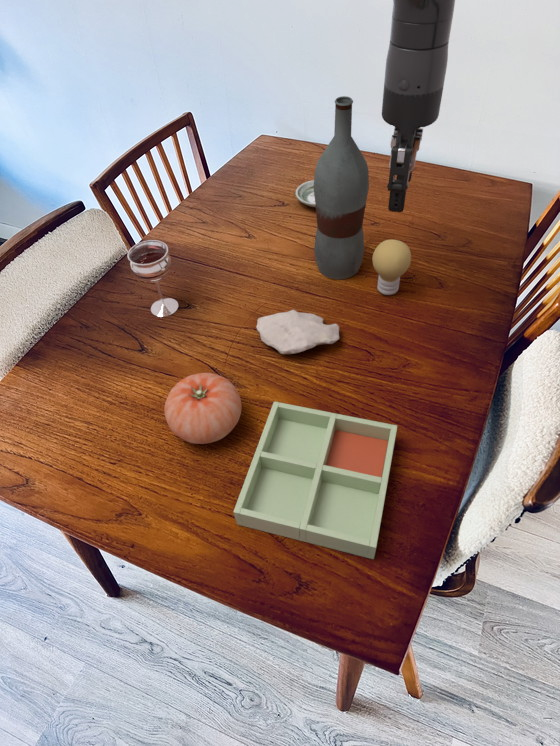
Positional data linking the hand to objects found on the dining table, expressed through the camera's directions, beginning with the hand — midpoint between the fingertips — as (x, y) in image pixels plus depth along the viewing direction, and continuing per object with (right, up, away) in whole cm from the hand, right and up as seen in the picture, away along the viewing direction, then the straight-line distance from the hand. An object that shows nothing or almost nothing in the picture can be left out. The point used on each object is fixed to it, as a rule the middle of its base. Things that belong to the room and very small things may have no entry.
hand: (399, 195), depth 79 cm
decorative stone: (-16, -21, +8) cm, 27 cm away
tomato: (-29, -35, -2) cm, 45 cm away
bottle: (-7, -7, +20) cm, 22 cm away
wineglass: (-39, -15, +15) cm, 44 cm away
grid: (-13, -41, -10) cm, 44 cm away
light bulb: (+1, -12, +14) cm, 19 cm away
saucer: (-10, +10, +34) cm, 37 cm away
